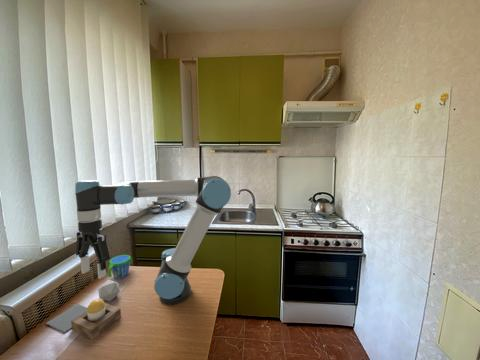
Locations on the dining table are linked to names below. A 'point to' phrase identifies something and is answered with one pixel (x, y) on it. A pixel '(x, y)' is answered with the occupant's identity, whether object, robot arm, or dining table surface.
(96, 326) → the brown square tray
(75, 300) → the dining table surface
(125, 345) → the dining table surface
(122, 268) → the snack cup
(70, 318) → the coaster
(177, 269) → the robot arm
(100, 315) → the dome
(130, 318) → the dining table surface
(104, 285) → the die
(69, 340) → the dining table surface
